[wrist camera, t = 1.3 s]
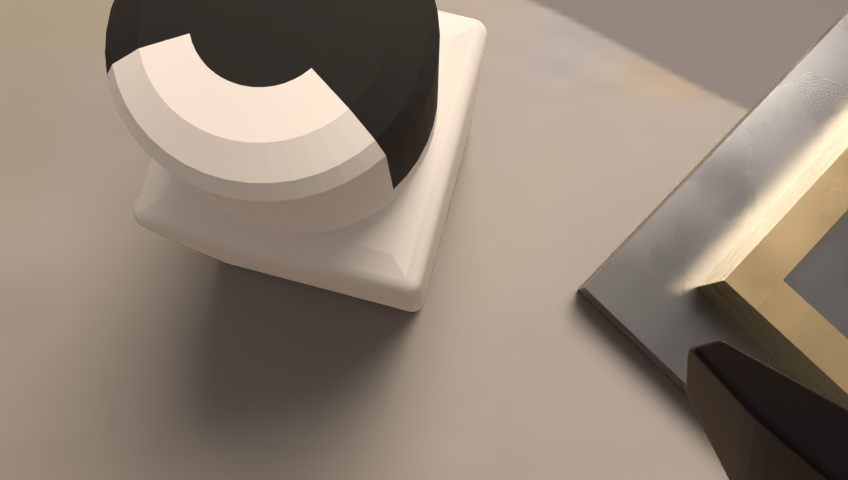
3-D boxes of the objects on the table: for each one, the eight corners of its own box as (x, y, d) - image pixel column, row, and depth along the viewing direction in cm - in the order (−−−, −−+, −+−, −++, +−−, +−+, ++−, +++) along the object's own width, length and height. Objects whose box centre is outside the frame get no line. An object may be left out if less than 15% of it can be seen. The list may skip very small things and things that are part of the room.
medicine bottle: (278, 69, 24) (131, -209, 12) (473, 117, 24) (517, -120, 12) (217, 261, 23) (-11, 163, 11) (421, 315, 22) (412, 274, 11)
